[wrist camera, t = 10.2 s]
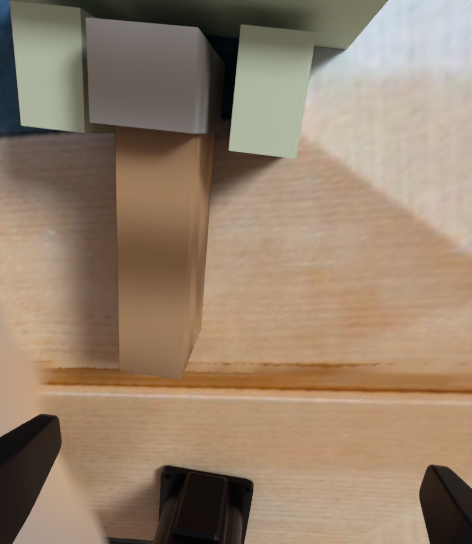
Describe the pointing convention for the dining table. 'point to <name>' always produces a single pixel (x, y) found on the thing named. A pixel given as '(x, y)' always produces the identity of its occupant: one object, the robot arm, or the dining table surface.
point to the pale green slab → (211, 21)
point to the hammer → (158, 179)
